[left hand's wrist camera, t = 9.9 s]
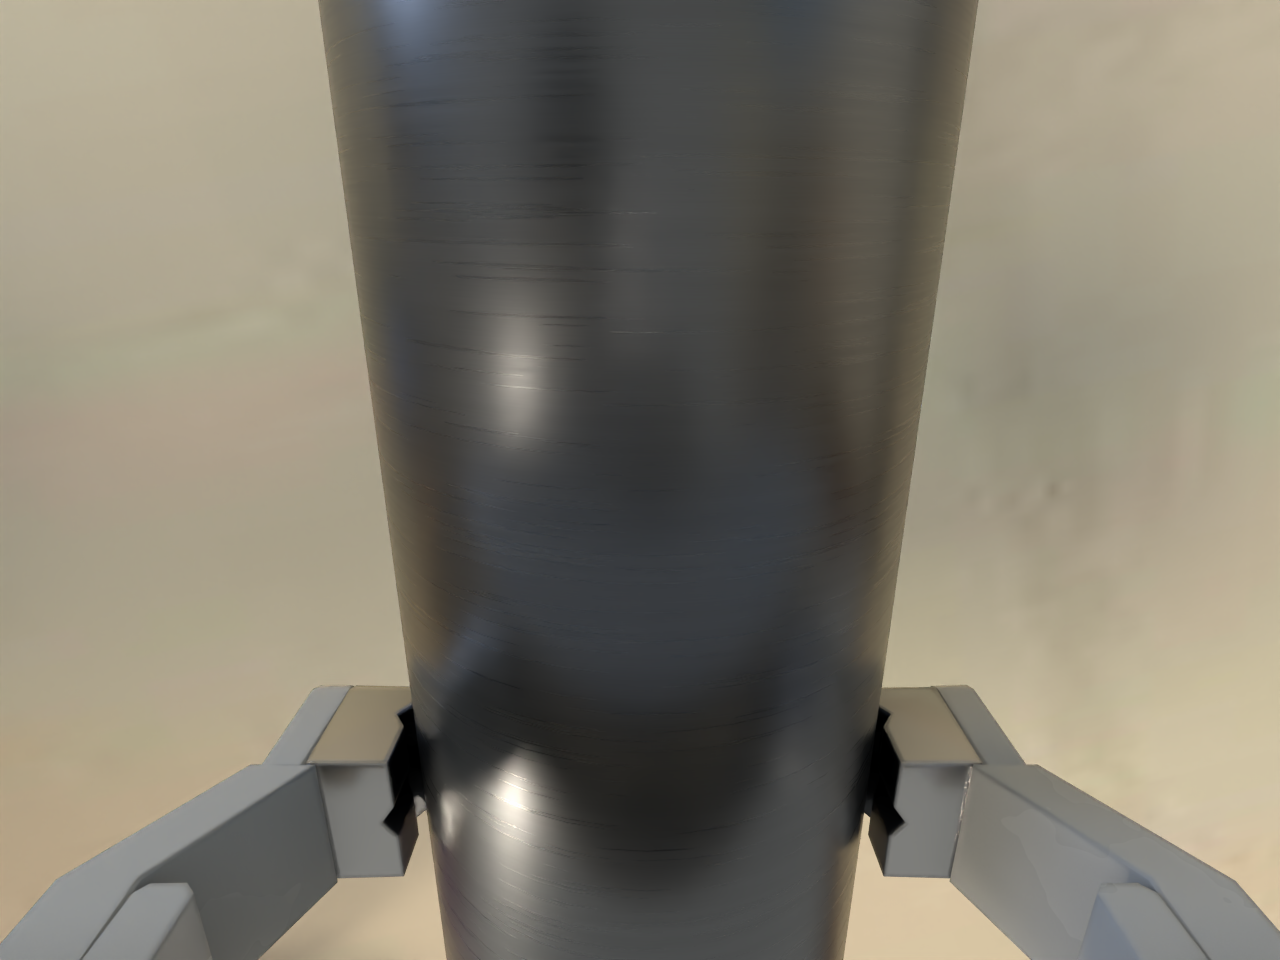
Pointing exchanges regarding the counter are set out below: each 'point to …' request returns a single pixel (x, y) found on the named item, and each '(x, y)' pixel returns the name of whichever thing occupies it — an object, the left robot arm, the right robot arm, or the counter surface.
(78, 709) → the counter surface
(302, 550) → the counter surface
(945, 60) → the rod
